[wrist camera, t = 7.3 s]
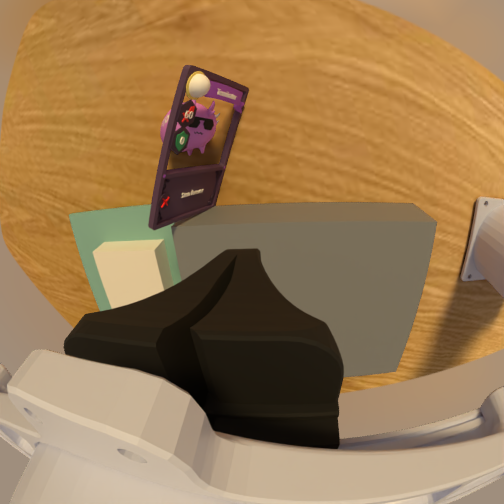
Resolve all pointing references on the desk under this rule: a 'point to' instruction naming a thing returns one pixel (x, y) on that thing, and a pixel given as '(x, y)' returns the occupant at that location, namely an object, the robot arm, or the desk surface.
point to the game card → (186, 139)
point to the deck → (329, 266)
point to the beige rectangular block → (133, 270)
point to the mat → (116, 229)
